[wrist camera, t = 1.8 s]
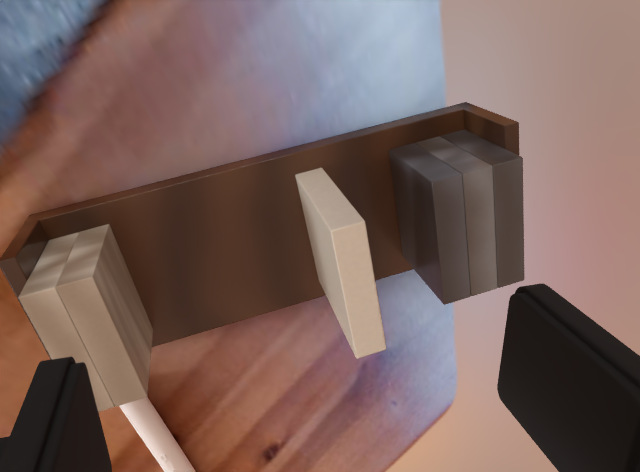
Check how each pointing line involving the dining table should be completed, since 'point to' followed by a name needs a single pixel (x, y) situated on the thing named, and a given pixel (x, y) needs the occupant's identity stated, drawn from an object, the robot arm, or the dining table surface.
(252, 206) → the book rack
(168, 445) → the beige rod
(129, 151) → the dining table surface
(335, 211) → the beige book
